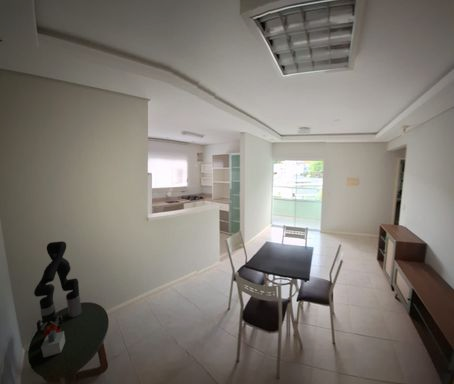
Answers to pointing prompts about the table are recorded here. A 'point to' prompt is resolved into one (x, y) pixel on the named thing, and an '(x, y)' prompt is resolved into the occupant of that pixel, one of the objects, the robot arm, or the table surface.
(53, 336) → the lid
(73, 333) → the table surface
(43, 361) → the table surface
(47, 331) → the apple
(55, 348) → the storage box
